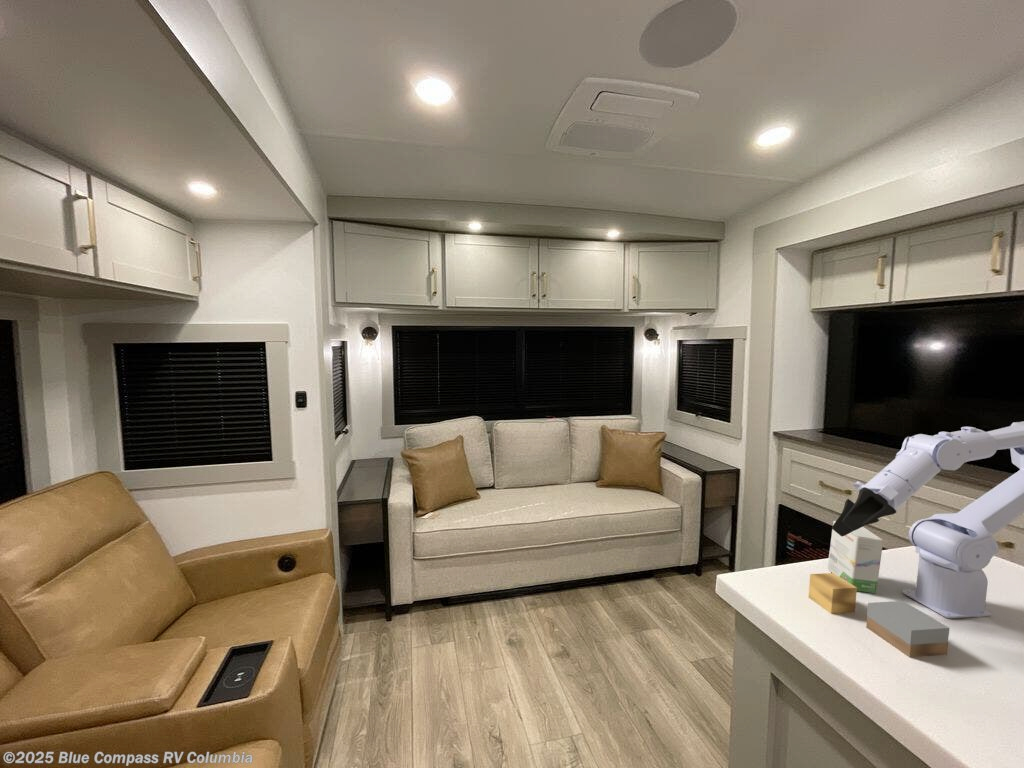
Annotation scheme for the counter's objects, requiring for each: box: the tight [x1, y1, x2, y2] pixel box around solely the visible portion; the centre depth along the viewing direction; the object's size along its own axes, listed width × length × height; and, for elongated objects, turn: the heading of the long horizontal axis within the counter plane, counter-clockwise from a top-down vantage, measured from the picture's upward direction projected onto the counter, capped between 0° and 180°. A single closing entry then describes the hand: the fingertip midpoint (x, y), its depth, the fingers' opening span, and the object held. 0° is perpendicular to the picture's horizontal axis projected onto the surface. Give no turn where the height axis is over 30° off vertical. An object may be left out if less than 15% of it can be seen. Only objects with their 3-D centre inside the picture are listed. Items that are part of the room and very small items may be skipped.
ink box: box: [827, 520, 884, 594], centre depth 85 cm, size 9×5×12 cm, turn 168°
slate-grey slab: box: [866, 600, 950, 645], centre depth 67 cm, size 7×7×2 cm
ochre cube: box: [808, 572, 858, 615], centre depth 77 cm, size 5×5×5 cm
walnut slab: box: [865, 615, 949, 658], centre depth 68 cm, size 7×7×2 cm
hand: (842, 529), depth 75 cm, fingers open, 7 cm apart
